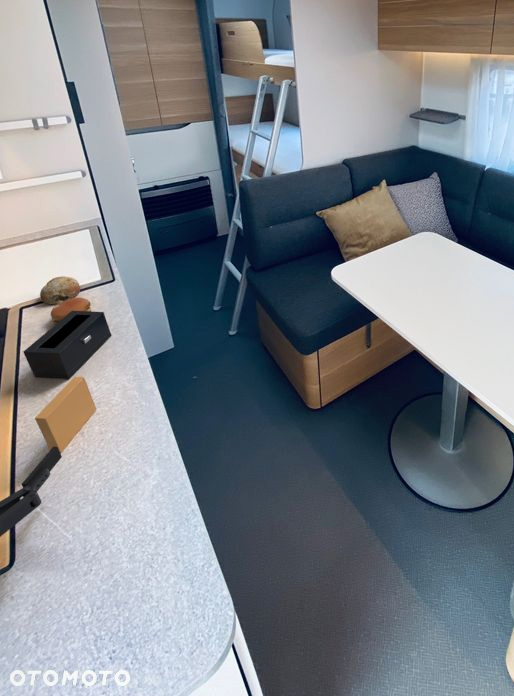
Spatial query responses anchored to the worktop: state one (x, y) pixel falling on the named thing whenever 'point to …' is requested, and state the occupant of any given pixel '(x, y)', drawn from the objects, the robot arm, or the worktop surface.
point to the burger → (69, 308)
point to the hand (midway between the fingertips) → (22, 448)
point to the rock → (59, 290)
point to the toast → (66, 414)
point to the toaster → (68, 345)
